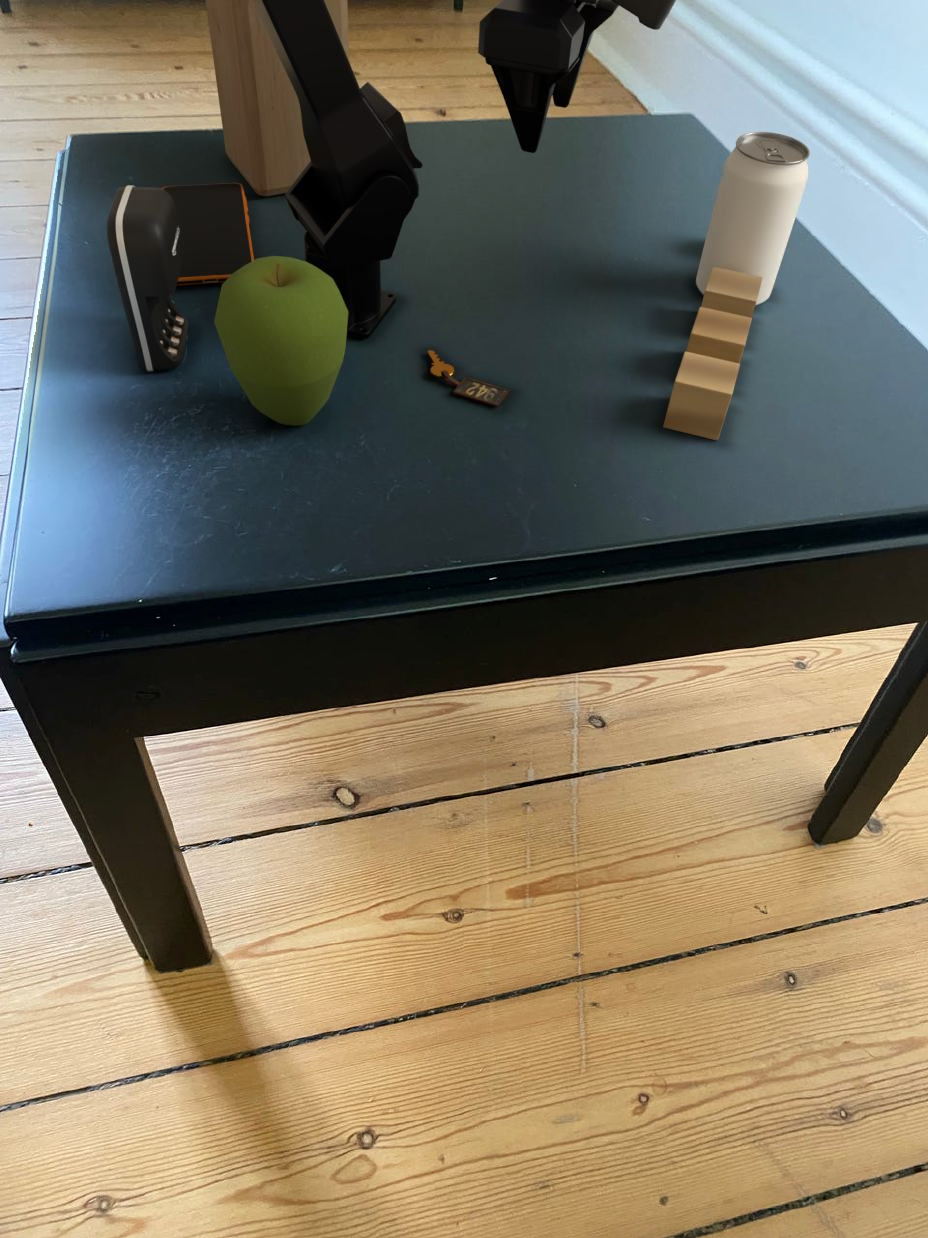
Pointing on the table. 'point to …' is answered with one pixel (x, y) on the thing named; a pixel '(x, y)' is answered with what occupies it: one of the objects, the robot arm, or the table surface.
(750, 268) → the can
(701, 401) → the block
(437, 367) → the key tag
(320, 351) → the apple
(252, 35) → the wooden block
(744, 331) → the block
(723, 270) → the block
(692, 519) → the table surface
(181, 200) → the smartphone
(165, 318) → the battery charger
